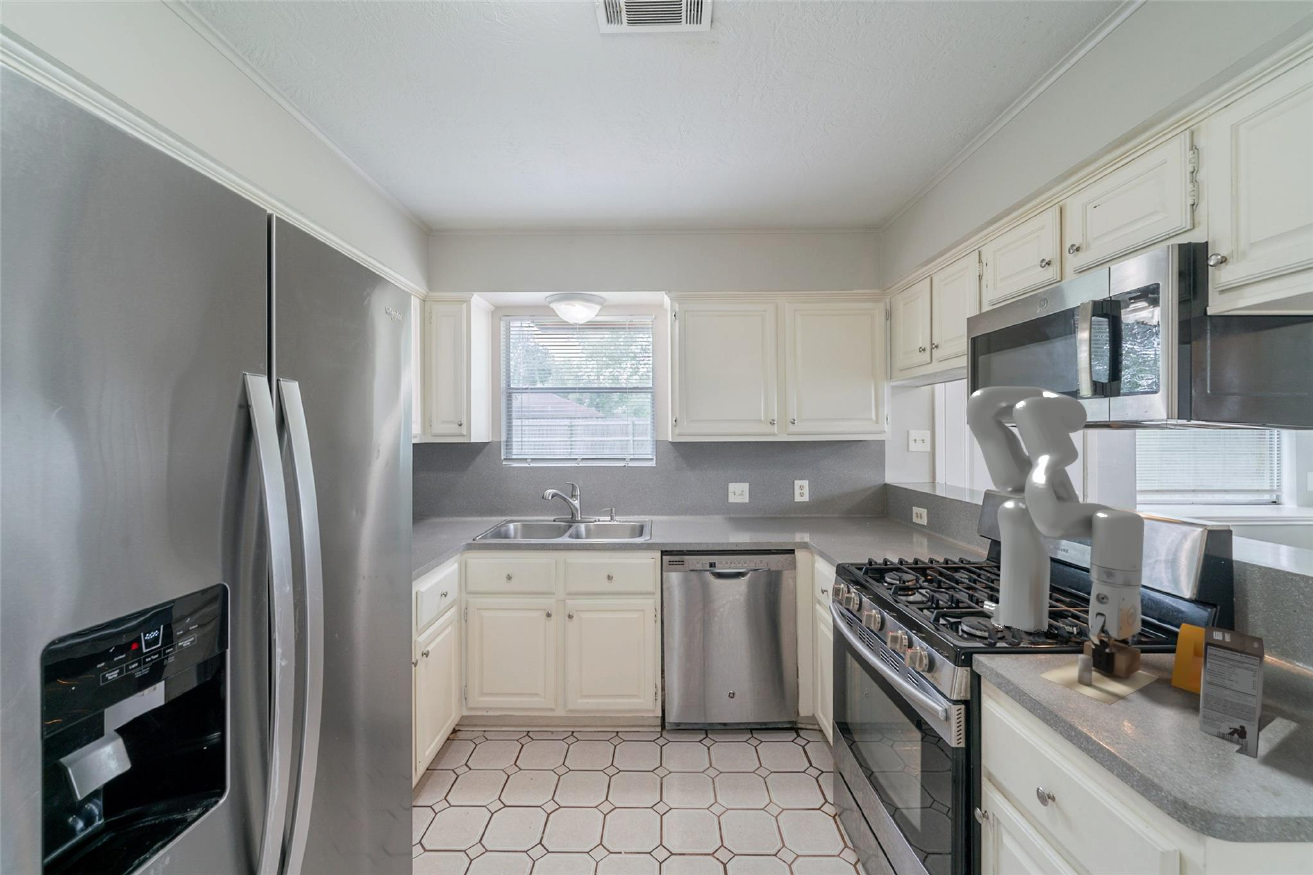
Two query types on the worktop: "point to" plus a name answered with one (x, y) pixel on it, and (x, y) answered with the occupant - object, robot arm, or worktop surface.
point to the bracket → (1189, 658)
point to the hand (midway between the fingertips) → (1110, 665)
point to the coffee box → (1232, 687)
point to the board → (1097, 680)
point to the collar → (1120, 657)
